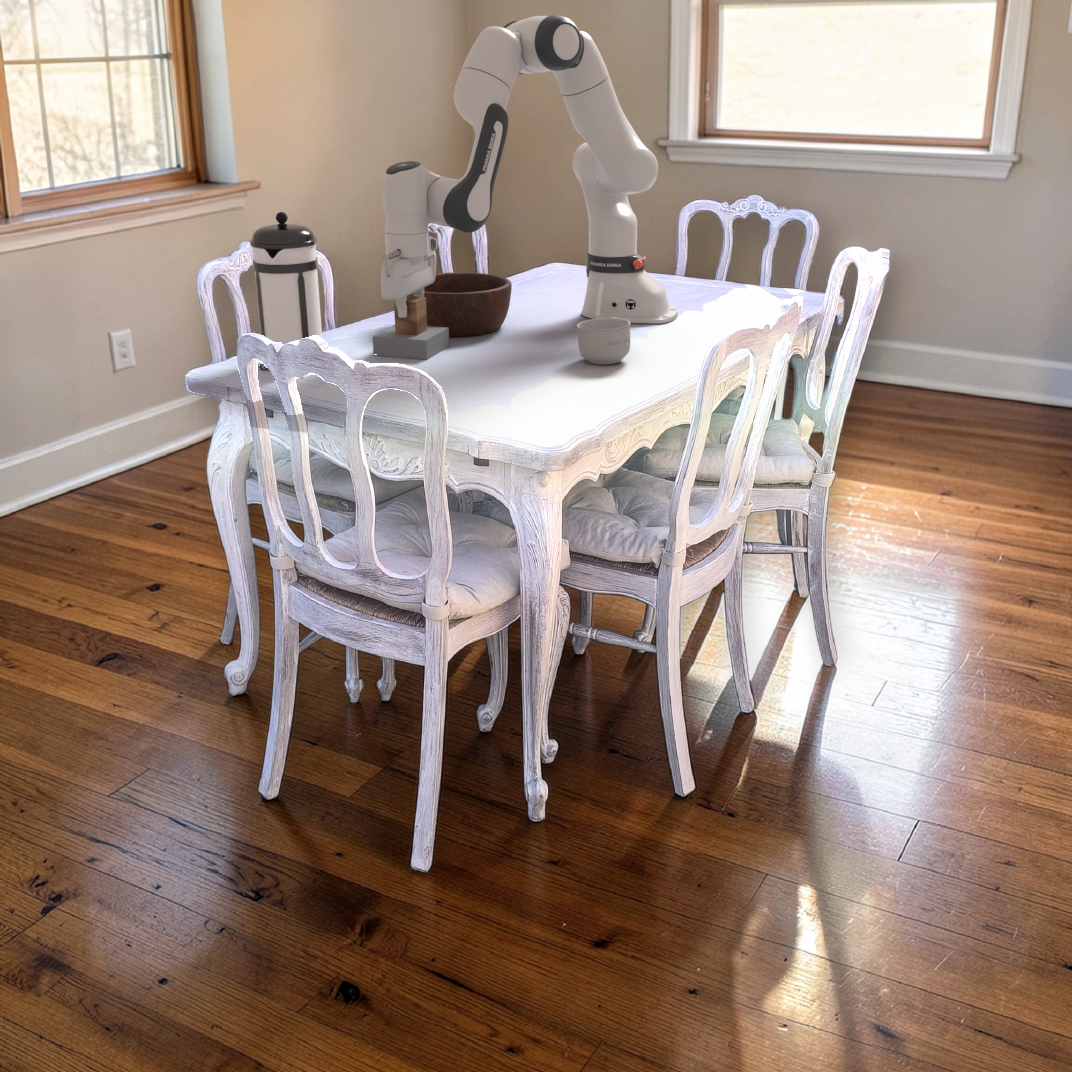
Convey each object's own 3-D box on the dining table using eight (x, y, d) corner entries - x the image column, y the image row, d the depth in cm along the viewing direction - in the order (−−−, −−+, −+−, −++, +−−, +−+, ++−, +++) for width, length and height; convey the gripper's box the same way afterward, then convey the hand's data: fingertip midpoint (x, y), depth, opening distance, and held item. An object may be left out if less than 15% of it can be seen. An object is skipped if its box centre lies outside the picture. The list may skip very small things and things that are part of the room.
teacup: (613, 370, 239) (614, 330, 236) (566, 363, 244) (566, 324, 241) (646, 355, 250) (647, 317, 247) (600, 349, 255) (600, 311, 252)
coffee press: (348, 365, 243) (338, 212, 232) (272, 377, 235) (258, 219, 224) (313, 348, 257) (302, 203, 245) (241, 359, 249) (226, 209, 237)
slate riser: (449, 346, 258) (448, 327, 257) (427, 359, 248) (426, 340, 246) (397, 342, 262) (396, 323, 260) (373, 355, 251) (372, 336, 250)
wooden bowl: (532, 323, 279) (532, 278, 275) (472, 345, 259) (471, 297, 255) (443, 311, 290) (441, 268, 286) (379, 332, 271) (376, 286, 267)
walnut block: (427, 330, 255) (425, 297, 252) (417, 335, 250) (416, 302, 248) (405, 328, 256) (403, 295, 253) (395, 334, 252) (393, 300, 249)
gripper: (400, 255, 236) (403, 325, 242) (440, 238, 254) (443, 304, 260) (371, 253, 238) (375, 323, 243) (412, 237, 256) (415, 302, 261)
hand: (410, 313), depth 252 cm, fingers open, 5 cm apart
